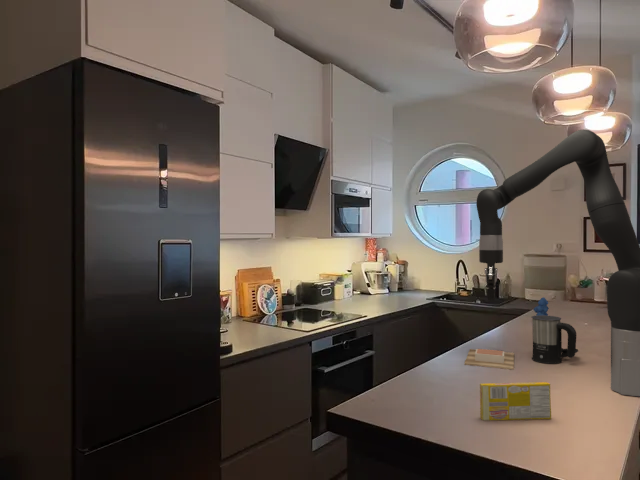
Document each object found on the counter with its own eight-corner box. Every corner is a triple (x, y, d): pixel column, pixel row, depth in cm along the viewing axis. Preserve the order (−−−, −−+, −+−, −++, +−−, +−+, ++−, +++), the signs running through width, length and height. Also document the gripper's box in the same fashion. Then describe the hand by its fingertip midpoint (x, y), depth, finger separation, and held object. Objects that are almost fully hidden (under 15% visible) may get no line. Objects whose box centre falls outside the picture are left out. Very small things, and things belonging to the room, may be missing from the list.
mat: (513, 369, 148) (513, 367, 148) (464, 364, 154) (464, 362, 154) (513, 354, 167) (514, 352, 167) (469, 350, 173) (469, 349, 173)
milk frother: (529, 362, 157) (529, 318, 157) (534, 351, 171) (534, 311, 171) (578, 367, 150) (578, 321, 150) (578, 356, 164) (578, 314, 164)
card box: (504, 358, 160) (503, 363, 154) (476, 355, 163) (475, 360, 157) (504, 350, 160) (503, 355, 154) (476, 348, 163) (475, 352, 157)
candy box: (547, 416, 111) (547, 381, 111) (551, 419, 109) (551, 384, 109) (479, 417, 110) (479, 382, 110) (482, 421, 108) (482, 385, 108)
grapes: (536, 319, 235) (536, 295, 235) (551, 321, 230) (551, 296, 230) (529, 322, 226) (529, 298, 226) (544, 324, 222) (544, 299, 221)
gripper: (502, 249, 150) (502, 303, 150) (503, 248, 162) (503, 298, 163) (478, 249, 153) (478, 302, 153) (480, 248, 165) (480, 297, 165)
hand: (491, 300), depth 158 cm, fingers closed
